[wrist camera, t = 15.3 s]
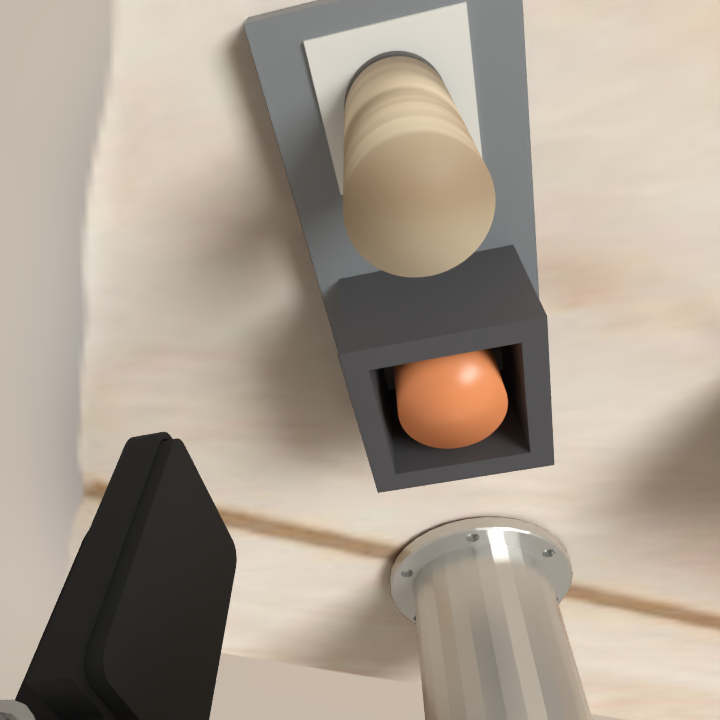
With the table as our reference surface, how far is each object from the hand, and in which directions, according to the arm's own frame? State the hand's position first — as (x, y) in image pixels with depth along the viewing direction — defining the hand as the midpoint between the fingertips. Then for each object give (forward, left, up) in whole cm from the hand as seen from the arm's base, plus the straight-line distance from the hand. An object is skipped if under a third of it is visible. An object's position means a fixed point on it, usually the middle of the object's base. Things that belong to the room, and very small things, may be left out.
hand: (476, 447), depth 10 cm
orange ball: (-11, 0, -18) cm, 21 cm away
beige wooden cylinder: (0, 0, -19) cm, 19 cm away
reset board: (-6, 0, -20) cm, 21 cm away
